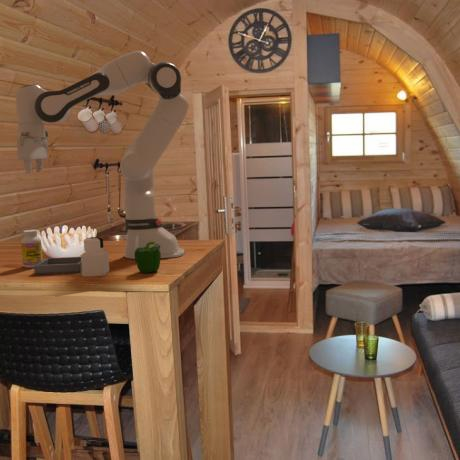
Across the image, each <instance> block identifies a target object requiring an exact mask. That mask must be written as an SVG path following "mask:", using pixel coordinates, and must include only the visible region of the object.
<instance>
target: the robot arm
mask: <svg viewBox="0 0 460 460" xmlns="http://www.w3.org/2000/svg"><path fill="white" fill-rule="evenodd" d="M181 75H182V74H181V72H180V70H179V68H178V67H177V66H176V65H175V64H173V63H171V62H168V61H162V62H159V63H153V62H152V61H151V60H150V58H149V56H148V55H147V53H145V52H144V51H141V50H134V51H131V52H127V53H125V54H123V55H121V56H118V57H116V58H114V59H112V60H110V61H109V62H107V63H105V64H104V65H102V66H101V67H100V68H98V69H97V70H95V71H93V73H92V74H90V75H89V76H87V77H85V78H84V79H81V80H79V81H78V82H76V83H73V84H71V85H69V86H67V87H65V88H63V89H61V90H46V89H44V88H43V87H41V86H40V85H38V84H27V85H23V86H21V87H19V88H18V89H17V91H16V96H15V97H16V99H15V101H16V102H15V103H16V104H15V105H16V106H15V107H16V108H15V109H16V114H17V119H18V120H17V133H18V134H17V135H18V139H17V141H16V142H17V144H16V145H17V147H16V148H17V151H16V152H17V153H16V154H17V158H18V160H19V161H22V160H23V165H24V167H25V173H27V174H32V173H34V171H33V170H34V169H33V167H32V160H35V163H36V165H35V171H36V173H41V172H42V171H43V164H44V159H45V160H46V159H48V155H49V144H48V138H49V132H48V131H47V130H46V128H45V122H46V123H51V124H52V123H53V124H54V123H55V124H60V123H64V122H65V121H67V120H68V119H70V117H71V115H72V108H74V107H75V106H77V105H80V104H82V103H83V102H85V101H87V100H89V99H91V98H95V97H98V96H113V95H118V94H120V93H123V92H125V91H127V90H130V89H132V88H133V87H135V86H137V85H139V84H142V83H145V84H146V85H147V86H148V87H149V89H150V90H152V91H153V92H154V93H156V94H158V97H159V98H158V102H157V104H156V106H155V108H154V109H153V111H152V112H151V115H150V116H149V118H148V119H147V121H146V122H145V124H144V126H143V127H142V129H141V130H140V131H139V133H138V134H137V136H136V138H135V139H134V140H133V142H132V143H131V144H130V146H129V148H127V151H126V152H125V154H124V155H123V156H122V158H121V161H120V164H119V165H120V166H119V169H120V172H121V174H122V175H123V177H124V207H125V208H124V209H125V210H124V211H125V219H124V230H125V234H126V241H125V242H126V243H125V249H124V256H123V257H124V258H125V259H132V260H135V254H134V253H135V250H136V249H137V248H144V247H146V245H147V243H148V242H151V241H154V242H155V243H154V244H150V245H149V248H151V247H158V248H159V250H160V252H161V259H171V258H179V257H181V256H183V255H185V249H184V248H182V247H179V243H178V240H177V237H176V236H175V235H174V234H173V233H171V232H169V231H168V230H167V229H165V228H164V227H162V226H163V224H162V223H163V221H162V218H159V217H157V215H156V214H157V213H156V201H155V200H156V198H155V197H156V196H155V167H156V165H157V163H158V162H159V161H160V159H161V157H162V155H163V154H164V153H165V152H166V150H167V149H168V147H169V145H170V143H171V142H172V140H173V139H174V137H175V136H176V134H177V132H178V131H179V129H180V128H181V126H182V124H183V122H184V121H185V118H186V116H187V113H188V110H189V108H190V105H189V101H188V99H187V97H185V96H184V95H183V94H181V91H182V90H181V87H182V85H181V84H182V76H181Z"/></svg>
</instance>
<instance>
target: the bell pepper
mask: <svg viewBox="0 0 460 460" xmlns="http://www.w3.org/2000/svg"><path fill="white" fill-rule="evenodd" d="M154 243H155V242H154V241H151V242H148V243H147V245H146V247H144V248H137V249H136V250H135V253H134V254H135V259H134V260H135V264H136V266H137V270H138V271H139V272H140V273H141V274H150V273H155V272H157V271H158V270H159V269H160V266H161V265H160V264H161V260H162V258H161V252H160V250H159V248H158V247H151V248H149V245H150V244H154Z"/></svg>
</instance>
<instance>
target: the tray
mask: <svg viewBox="0 0 460 460" xmlns="http://www.w3.org/2000/svg"><path fill="white" fill-rule="evenodd" d="M33 270H34V271H33V272H34V275H35V276H38V275H39V276H40V275H59V274H61V273H65V274H81V273H82V272H81V271H82V268H81V256H69V257H68V256H65V257H46V258H43V261H41V262H39V263H38V264H36V265H34V268H33ZM61 275H62V274H61Z"/></svg>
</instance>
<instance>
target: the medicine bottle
mask: <svg viewBox="0 0 460 460" xmlns="http://www.w3.org/2000/svg"><path fill="white" fill-rule="evenodd" d="M83 247H84V253H82V254H81V255H80V257H81V268H82V272H81V277H83V278H85V277H88V278H90V277H94V278H95V277H105V275H107V274H108V273H109V272H110V260H109V251H108V250H104V247H105V246H104V239H103V238H102V237H100V236H91V237H90V236H89V237H87V238H85V239H84V240H83Z"/></svg>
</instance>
